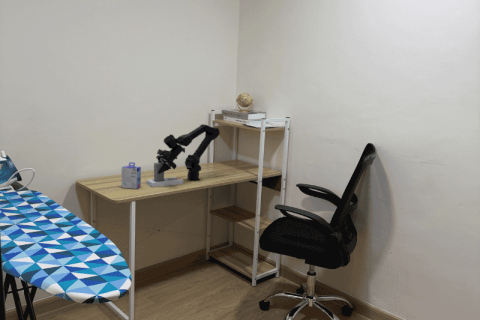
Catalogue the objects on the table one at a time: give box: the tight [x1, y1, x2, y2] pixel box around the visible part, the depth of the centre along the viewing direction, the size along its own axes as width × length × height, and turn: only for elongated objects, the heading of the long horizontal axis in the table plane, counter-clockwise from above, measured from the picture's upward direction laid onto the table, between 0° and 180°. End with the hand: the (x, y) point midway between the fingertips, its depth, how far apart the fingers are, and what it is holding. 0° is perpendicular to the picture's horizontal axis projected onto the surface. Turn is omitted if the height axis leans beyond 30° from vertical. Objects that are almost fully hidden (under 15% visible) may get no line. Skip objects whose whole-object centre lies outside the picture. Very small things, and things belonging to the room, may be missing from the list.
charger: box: [153, 162, 165, 182], centre depth 248 cm, size 4×4×12 cm
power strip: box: [146, 176, 184, 188], centre depth 252 cm, size 20×9×3 cm, turn 124°
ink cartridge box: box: [121, 161, 142, 190], centre depth 239 cm, size 10×6×14 cm, turn 78°
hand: (156, 172), depth 247 cm, fingers closed on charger, 4 cm apart
